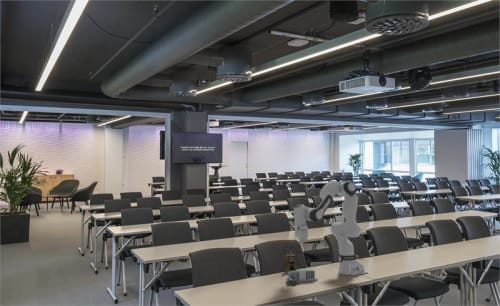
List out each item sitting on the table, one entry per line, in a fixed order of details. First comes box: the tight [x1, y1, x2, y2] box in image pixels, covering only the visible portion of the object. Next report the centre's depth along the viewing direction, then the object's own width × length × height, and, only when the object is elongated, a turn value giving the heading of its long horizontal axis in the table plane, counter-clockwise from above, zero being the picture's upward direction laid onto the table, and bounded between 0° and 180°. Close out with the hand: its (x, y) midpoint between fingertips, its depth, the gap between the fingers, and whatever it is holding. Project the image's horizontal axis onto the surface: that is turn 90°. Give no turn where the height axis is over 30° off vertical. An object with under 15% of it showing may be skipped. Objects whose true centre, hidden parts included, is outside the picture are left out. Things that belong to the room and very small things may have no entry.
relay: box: [287, 278, 298, 286], centre depth 280 cm, size 6×4×4 cm, turn 80°
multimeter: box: [282, 245, 301, 274], centre depth 314 cm, size 15×10×20 cm
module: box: [296, 268, 307, 280], centre depth 289 cm, size 4×5×7 cm
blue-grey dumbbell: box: [285, 268, 319, 283], centre depth 289 cm, size 22×7×7 cm, turn 101°
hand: (301, 244), depth 296 cm, fingers closed
